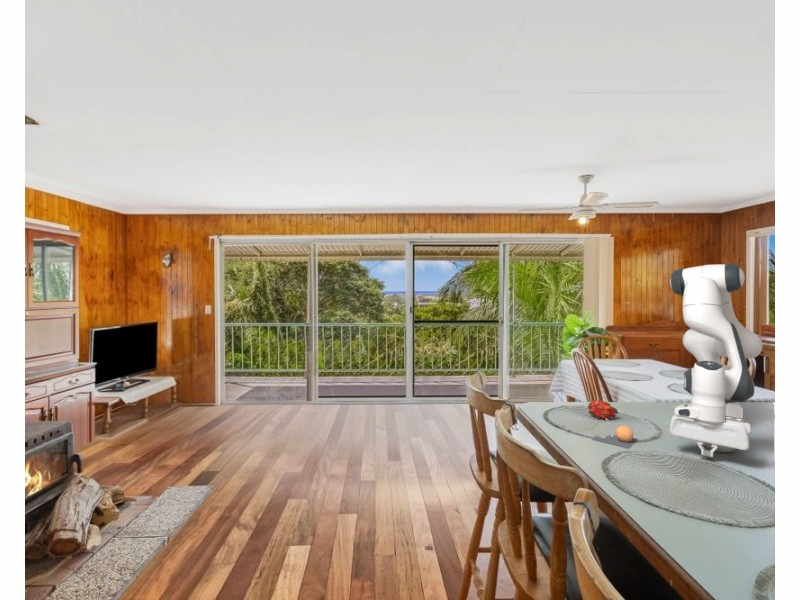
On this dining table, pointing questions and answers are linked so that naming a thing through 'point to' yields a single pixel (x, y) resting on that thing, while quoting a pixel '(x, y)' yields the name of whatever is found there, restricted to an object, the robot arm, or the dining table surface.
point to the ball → (624, 433)
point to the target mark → (615, 441)
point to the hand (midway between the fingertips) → (707, 455)
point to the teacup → (719, 447)
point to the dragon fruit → (602, 409)
